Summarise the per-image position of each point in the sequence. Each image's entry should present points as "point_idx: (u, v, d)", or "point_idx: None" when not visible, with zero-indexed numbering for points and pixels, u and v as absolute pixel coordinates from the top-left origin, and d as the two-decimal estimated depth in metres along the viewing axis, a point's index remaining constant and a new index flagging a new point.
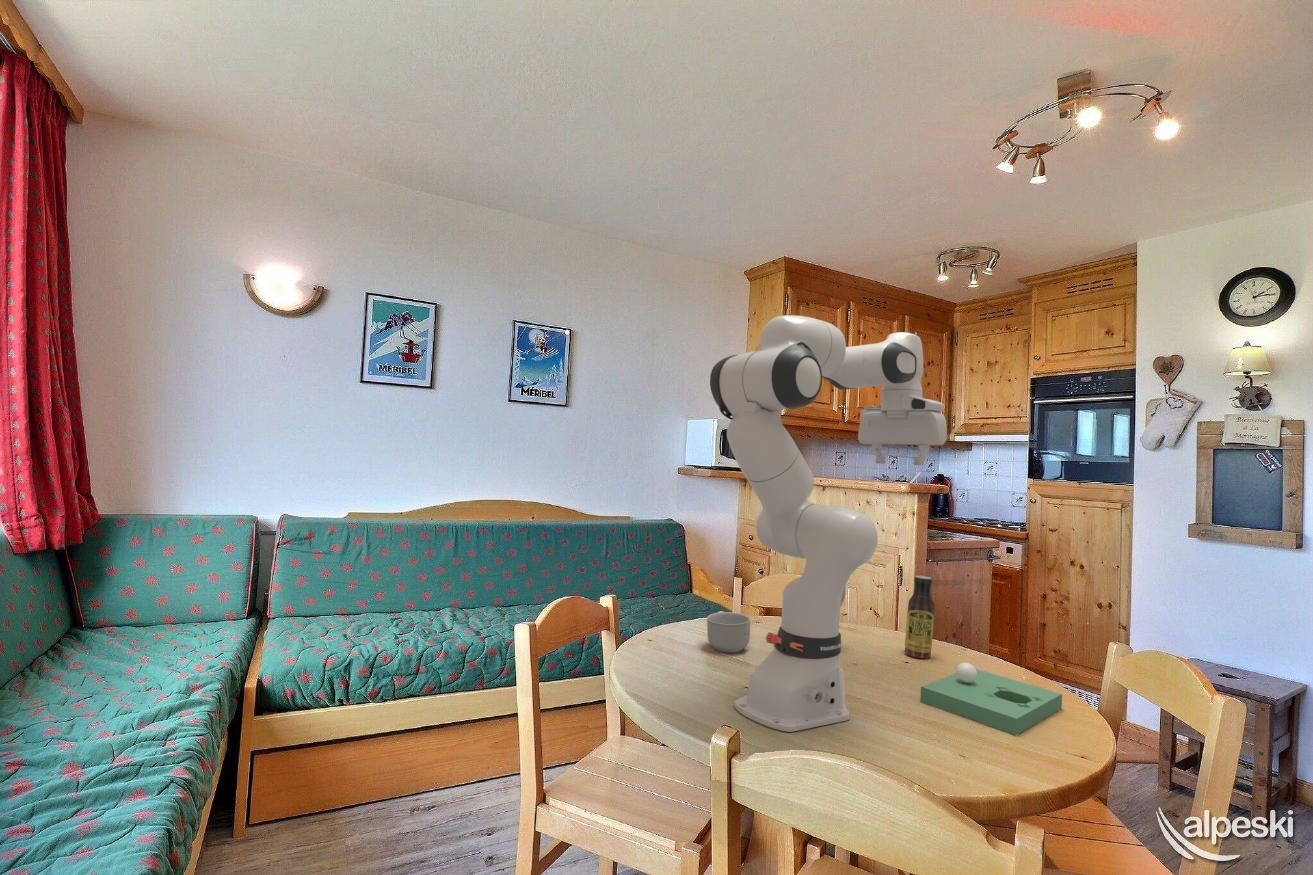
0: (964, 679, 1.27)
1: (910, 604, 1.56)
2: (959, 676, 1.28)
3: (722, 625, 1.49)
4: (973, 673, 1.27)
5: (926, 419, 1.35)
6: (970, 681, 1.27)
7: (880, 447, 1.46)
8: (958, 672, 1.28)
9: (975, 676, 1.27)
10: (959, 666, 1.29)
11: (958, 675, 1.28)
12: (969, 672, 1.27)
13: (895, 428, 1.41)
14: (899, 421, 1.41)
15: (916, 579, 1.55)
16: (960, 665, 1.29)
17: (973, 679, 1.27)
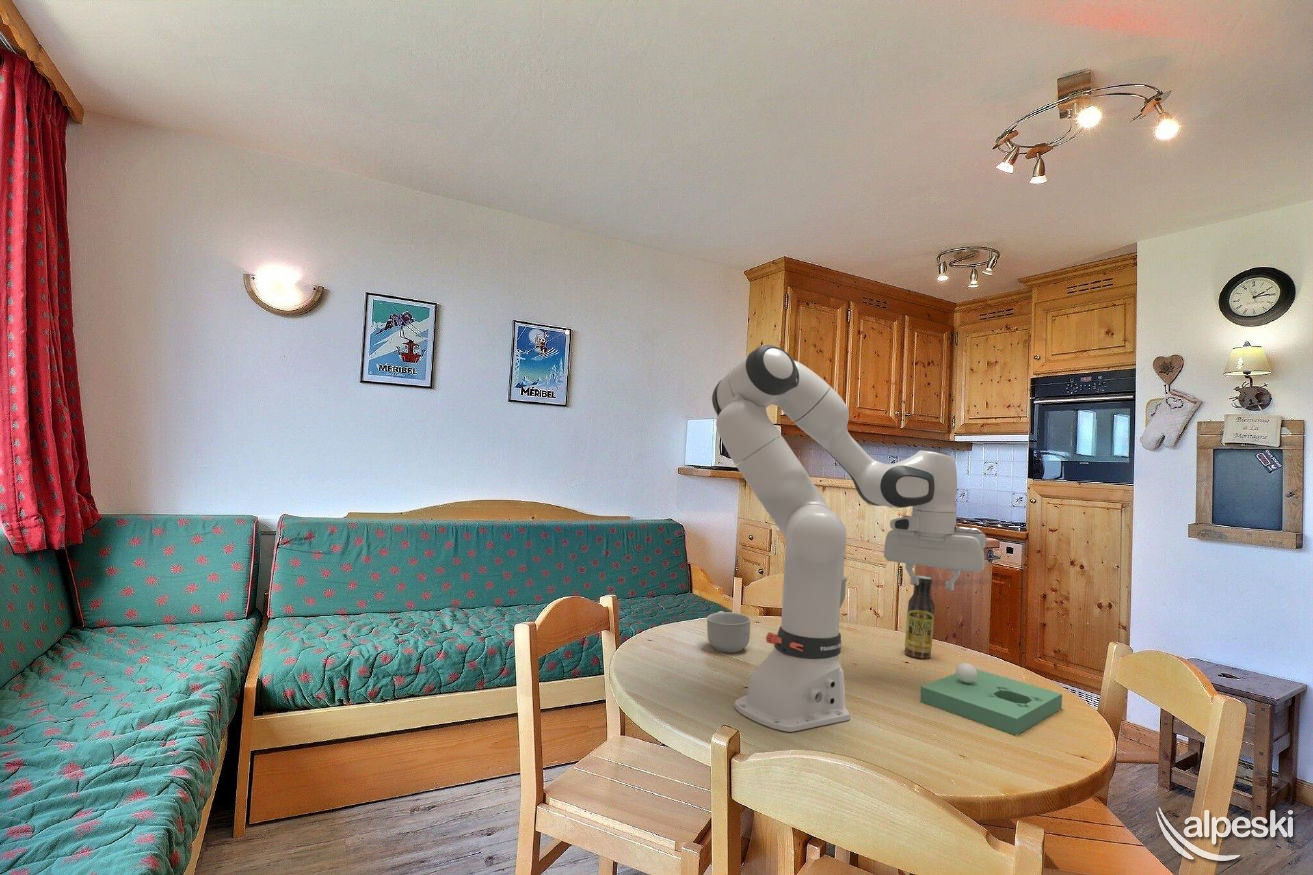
0: (964, 679, 1.27)
1: (910, 604, 1.56)
2: (959, 676, 1.28)
3: (722, 625, 1.49)
4: (973, 673, 1.27)
5: None
6: (970, 681, 1.27)
7: None
8: (958, 672, 1.28)
9: (975, 676, 1.27)
10: (959, 666, 1.29)
11: (958, 675, 1.28)
12: (969, 672, 1.27)
13: None
14: None
15: None
16: (960, 665, 1.29)
17: (973, 679, 1.27)
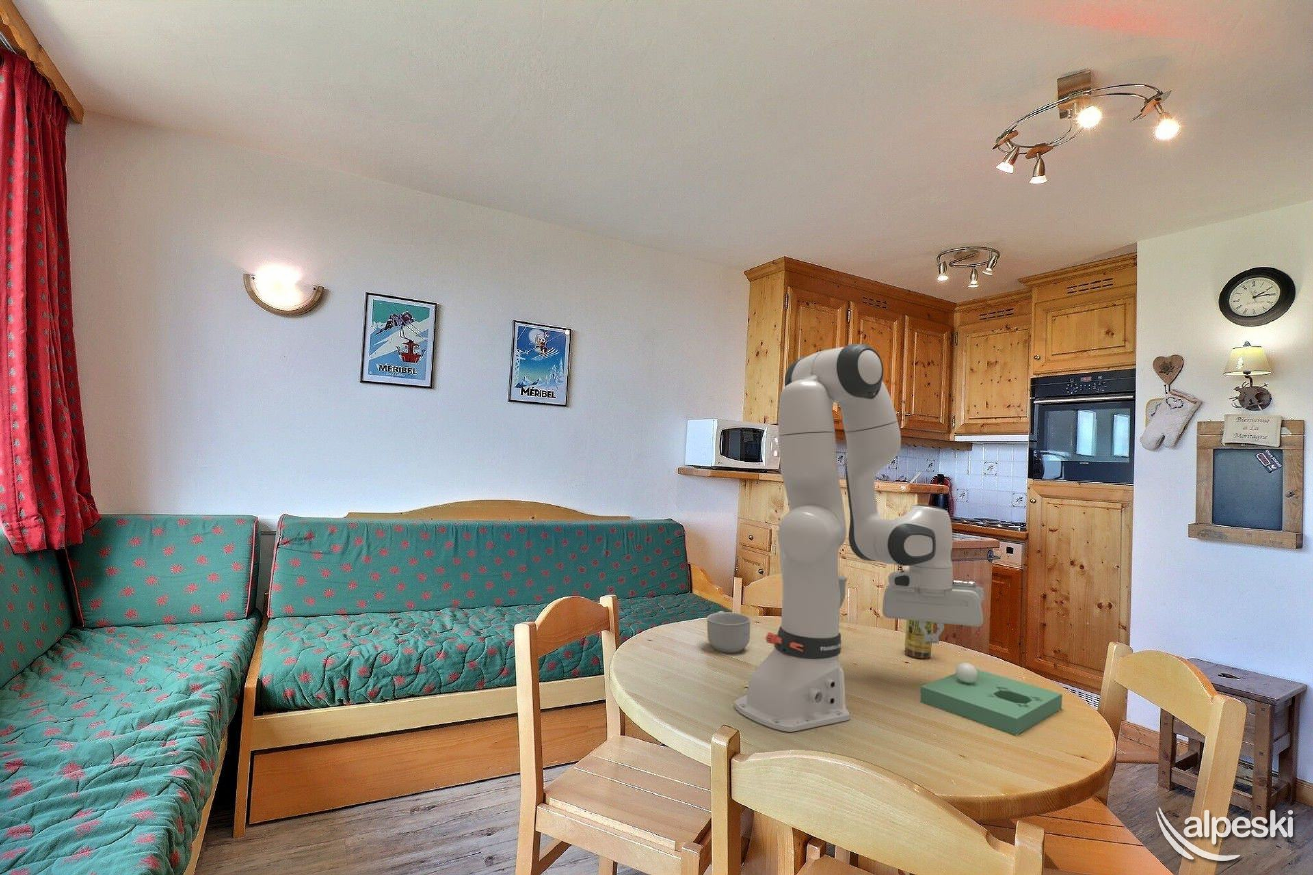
0: (964, 679, 1.27)
1: None
2: (959, 676, 1.28)
3: (722, 625, 1.49)
4: (973, 673, 1.27)
5: None
6: (970, 681, 1.27)
7: (937, 625, 1.35)
8: (958, 672, 1.28)
9: (975, 676, 1.27)
10: (959, 666, 1.29)
11: (958, 675, 1.28)
12: (969, 672, 1.27)
13: None
14: None
15: None
16: (960, 665, 1.29)
17: (973, 679, 1.27)
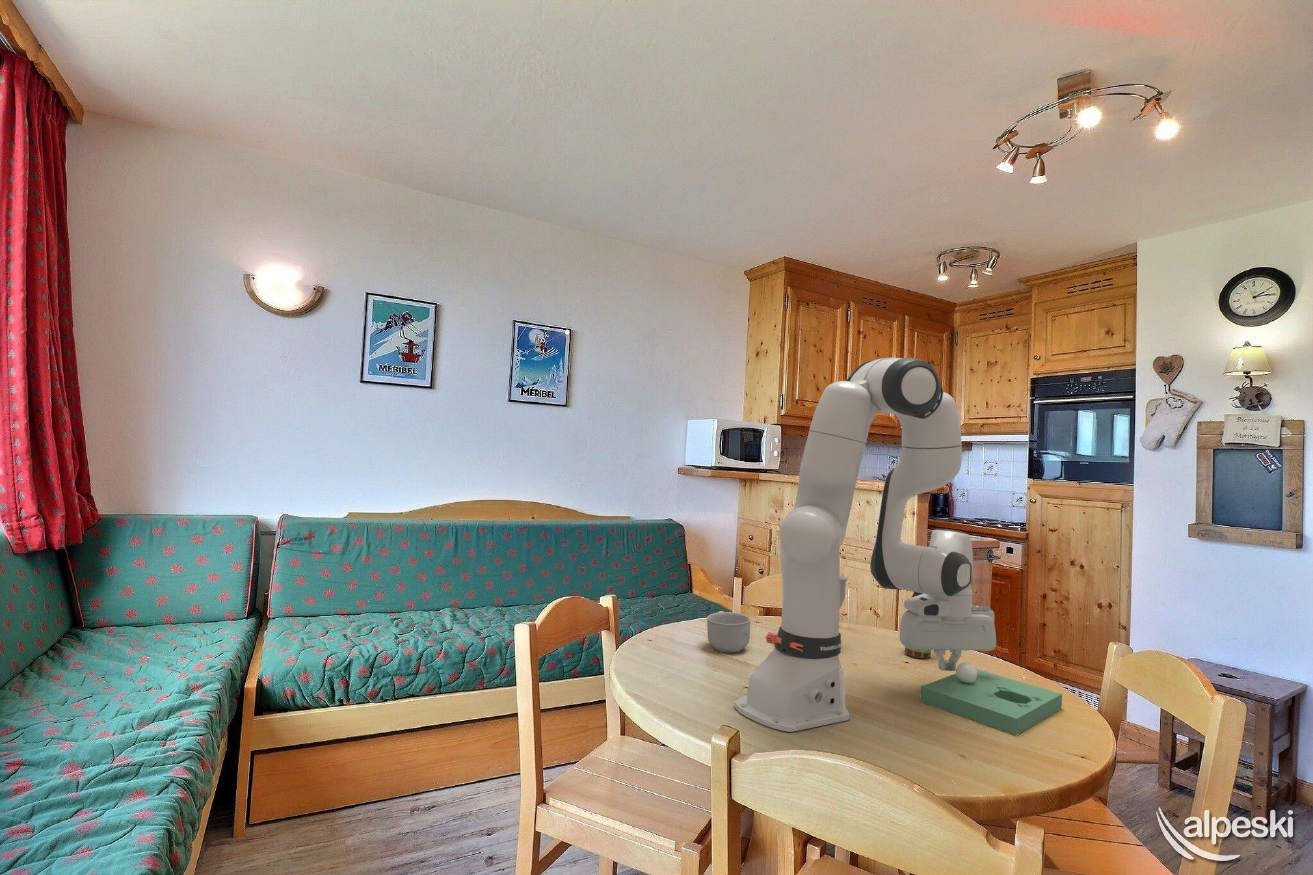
0: (964, 679, 1.27)
1: None
2: (959, 676, 1.28)
3: (722, 625, 1.49)
4: (973, 673, 1.27)
5: None
6: (970, 681, 1.27)
7: (954, 652, 1.32)
8: (958, 672, 1.28)
9: (975, 676, 1.27)
10: (959, 666, 1.29)
11: (958, 675, 1.28)
12: (969, 672, 1.27)
13: None
14: None
15: None
16: (960, 665, 1.29)
17: (973, 679, 1.27)
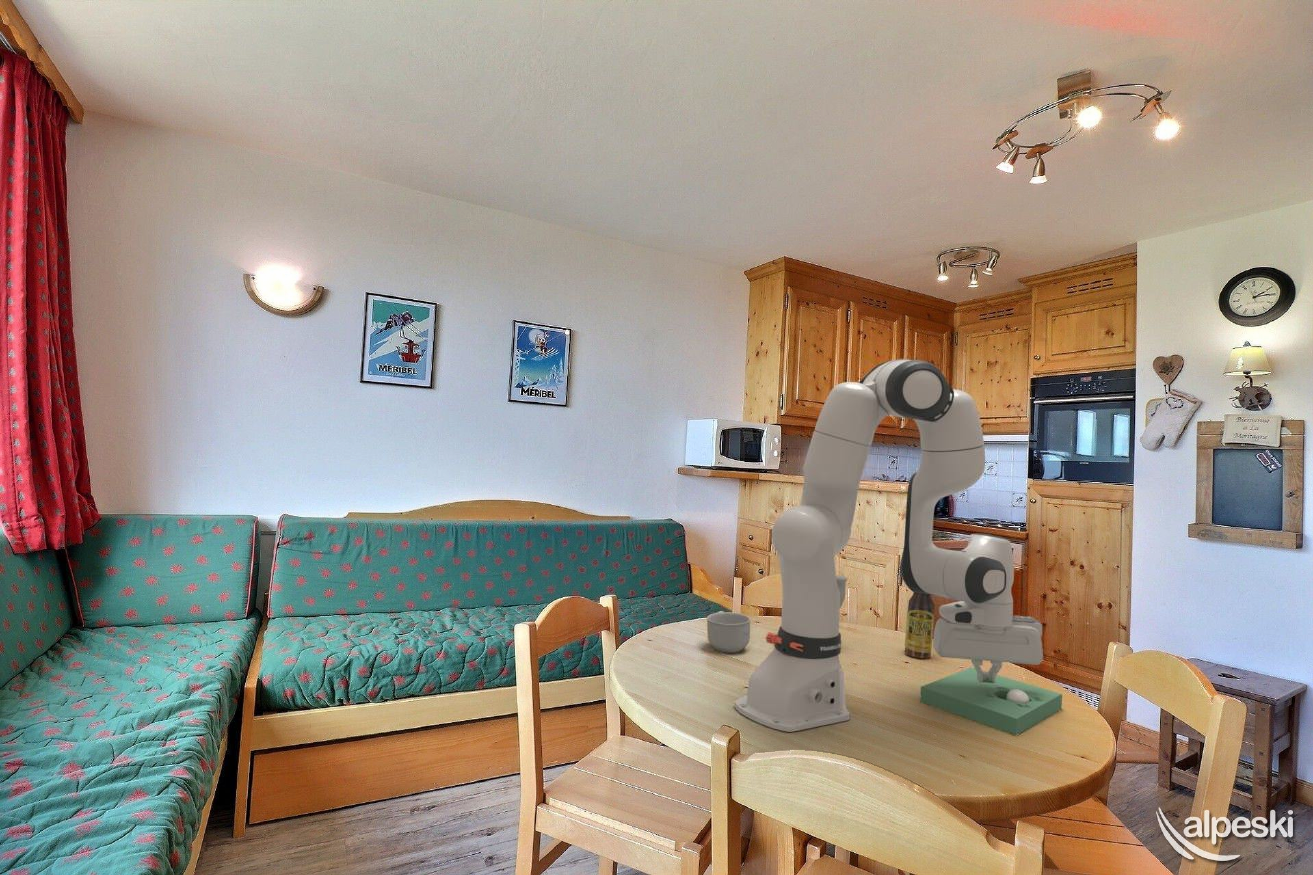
0: None
1: (910, 604, 1.56)
2: None
3: (722, 625, 1.49)
4: None
5: None
6: None
7: (993, 664, 1.25)
8: None
9: None
10: None
11: (1022, 691, 1.22)
12: None
13: None
14: None
15: None
16: None
17: None
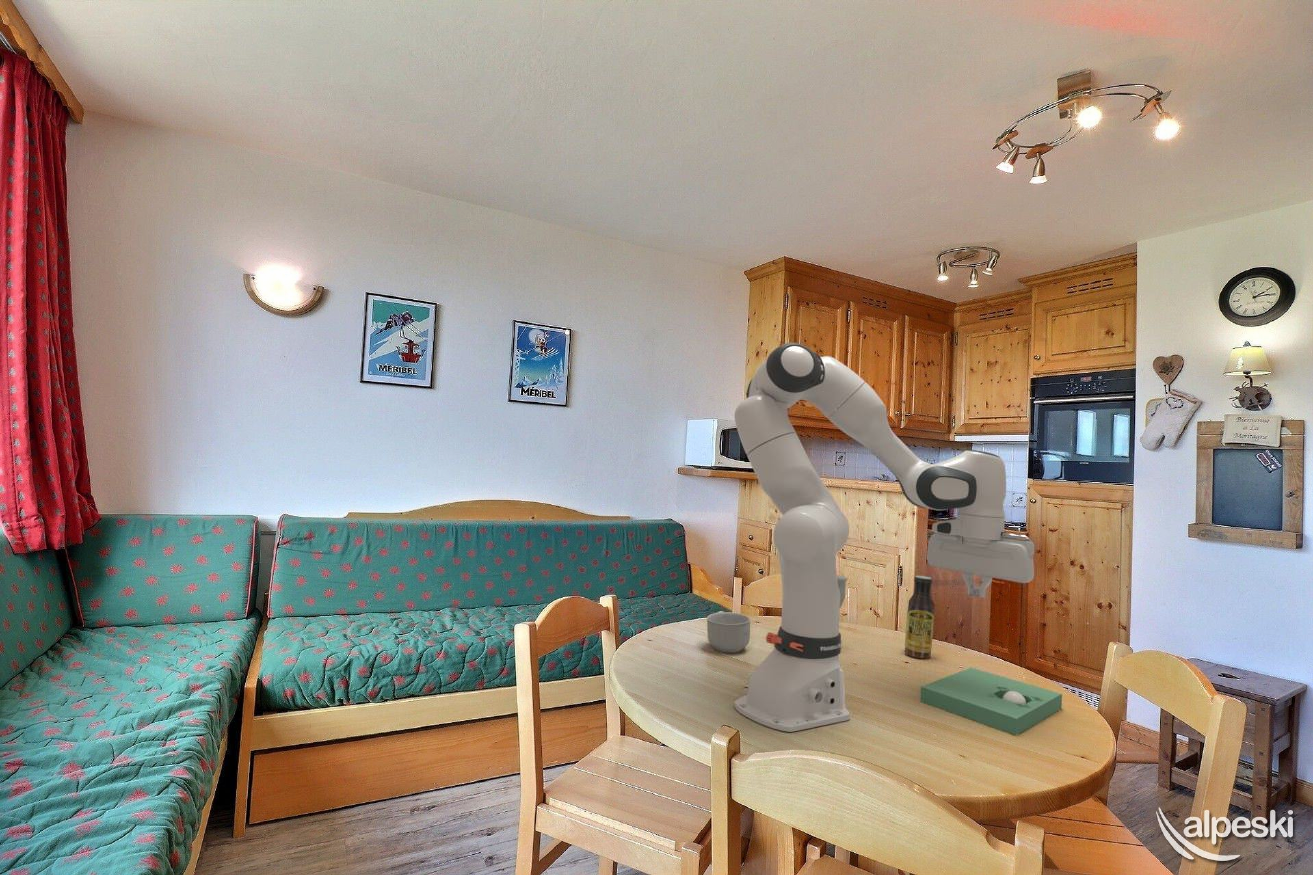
0: (1021, 695, 1.20)
1: (910, 604, 1.56)
2: (1017, 693, 1.20)
3: (722, 625, 1.49)
4: None
5: None
6: None
7: None
8: (1012, 691, 1.21)
9: None
10: (1006, 693, 1.21)
11: (1015, 693, 1.20)
12: None
13: None
14: None
15: (916, 579, 1.55)
16: (1005, 693, 1.22)
17: None
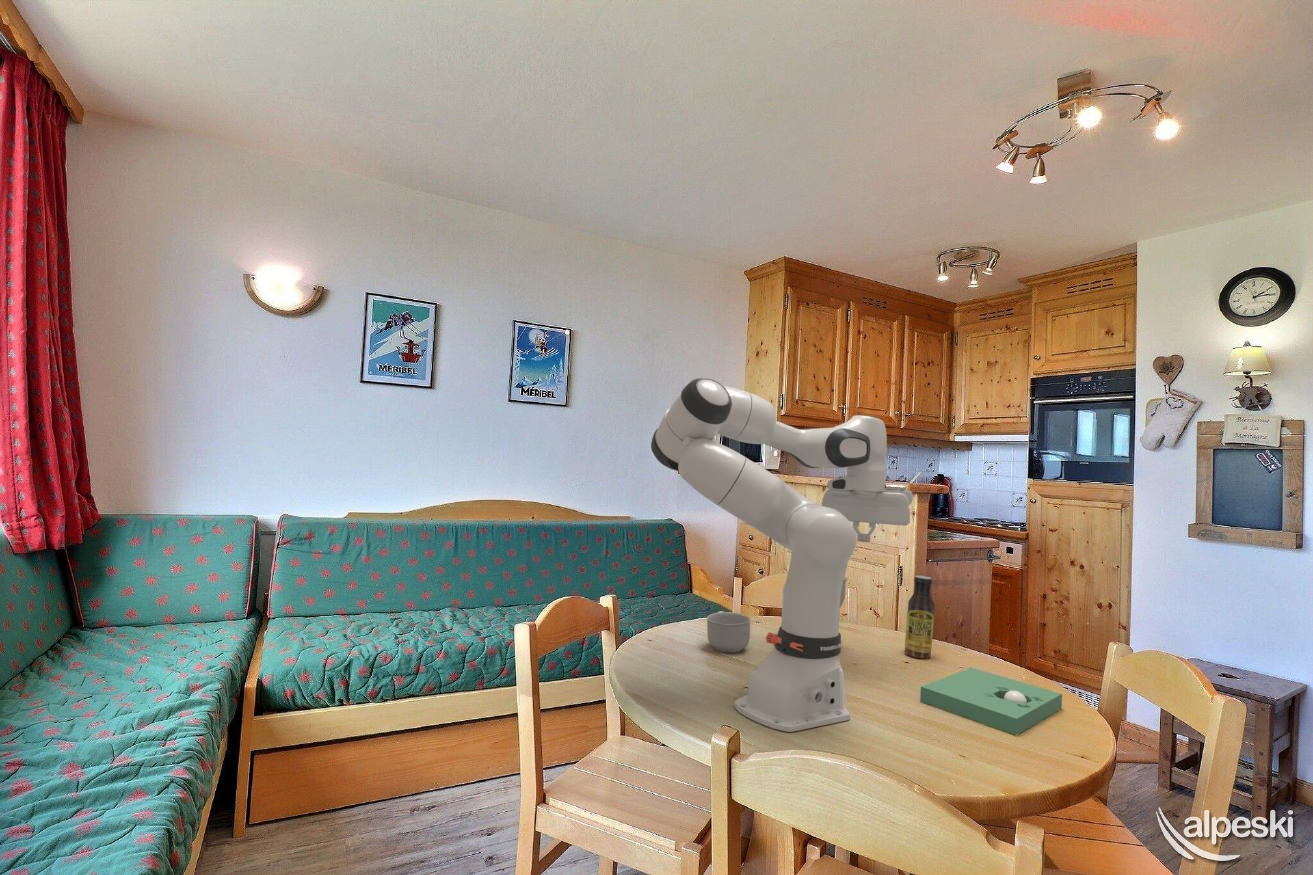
0: (1023, 695, 1.21)
1: (910, 604, 1.56)
2: (1019, 692, 1.21)
3: (722, 625, 1.49)
4: None
5: None
6: None
7: (869, 526, 1.46)
8: None
9: None
10: None
11: (1017, 692, 1.21)
12: None
13: None
14: None
15: (916, 579, 1.55)
16: (1007, 692, 1.22)
17: None
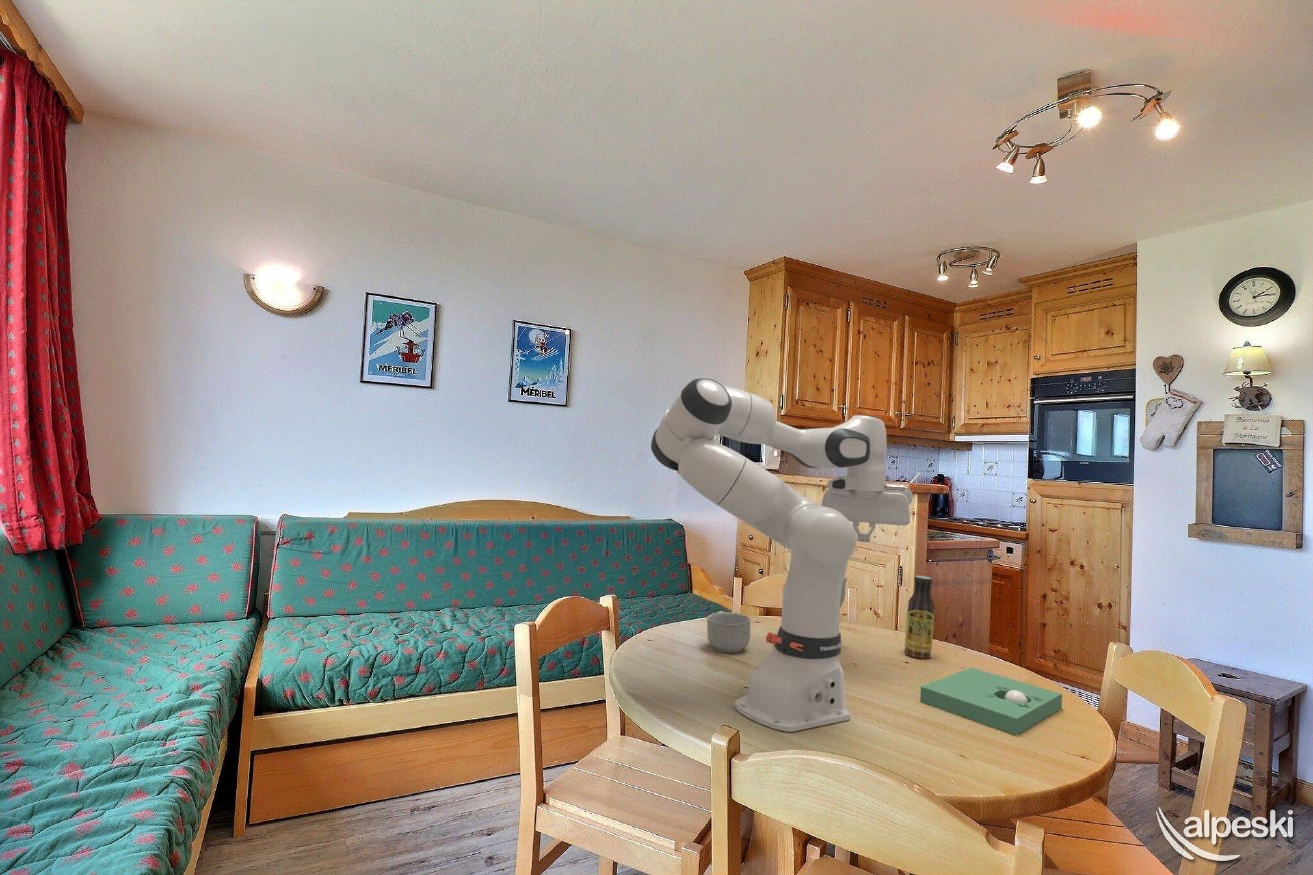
0: None
1: (910, 604, 1.56)
2: (1020, 692, 1.21)
3: (722, 625, 1.49)
4: None
5: None
6: None
7: (869, 526, 1.46)
8: (1016, 690, 1.22)
9: None
10: (1009, 691, 1.22)
11: (1019, 691, 1.21)
12: None
13: None
14: None
15: (916, 579, 1.55)
16: None
17: None
